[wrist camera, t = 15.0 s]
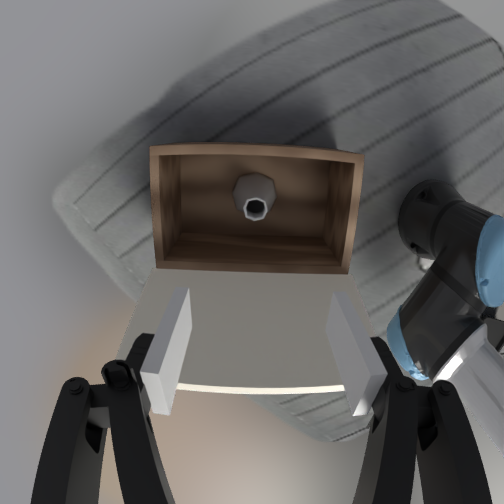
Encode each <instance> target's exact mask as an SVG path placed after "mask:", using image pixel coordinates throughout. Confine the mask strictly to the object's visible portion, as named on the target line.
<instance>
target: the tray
mask: <svg viewBox="0 0 504 504" xmlns="http://www.w3.org/2000/svg"><path fill="white" fill-rule="evenodd" d="M481 320H482V321H483V322H484V323H485V324H486V325H487V340H488V342H489V343H490V344H491V345H492V346H493V347H494V348H495V349H496V350H497V352H498V353H499V352H500V350H501V349H502V347H503V346H504V321H501V320H497V319H494V318H490V317H486V316H484V317H482V318H481Z"/></svg>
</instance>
